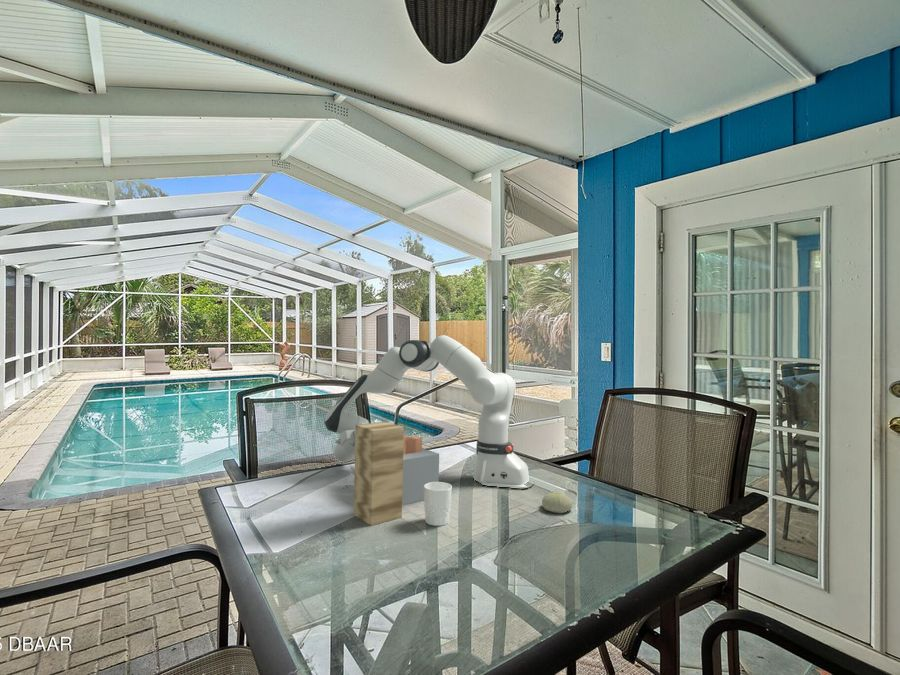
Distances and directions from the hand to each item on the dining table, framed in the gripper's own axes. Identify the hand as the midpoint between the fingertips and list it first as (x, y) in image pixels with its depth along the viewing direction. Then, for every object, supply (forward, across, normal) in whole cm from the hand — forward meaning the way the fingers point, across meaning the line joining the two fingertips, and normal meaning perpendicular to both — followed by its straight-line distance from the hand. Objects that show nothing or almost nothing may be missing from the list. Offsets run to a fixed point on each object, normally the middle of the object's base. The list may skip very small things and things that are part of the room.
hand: (375, 427), depth 171 cm
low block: (+7, 0, +25) cm, 26 cm away
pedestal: (+17, -17, +31) cm, 39 cm away
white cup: (+28, -6, +38) cm, 48 cm away
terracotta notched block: (+10, 0, +11) cm, 15 cm away
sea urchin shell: (+41, +30, +45) cm, 68 cm away
